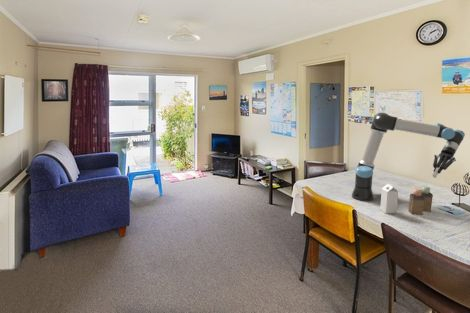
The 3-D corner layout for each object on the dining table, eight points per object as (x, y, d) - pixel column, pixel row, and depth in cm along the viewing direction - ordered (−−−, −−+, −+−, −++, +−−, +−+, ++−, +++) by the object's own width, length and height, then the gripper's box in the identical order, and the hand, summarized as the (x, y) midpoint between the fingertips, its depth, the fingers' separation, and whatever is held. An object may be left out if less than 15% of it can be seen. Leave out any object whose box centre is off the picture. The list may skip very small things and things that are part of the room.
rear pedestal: (416, 207, 199) (418, 191, 197) (427, 208, 197) (429, 191, 195) (419, 211, 193) (421, 194, 190) (430, 212, 191) (432, 194, 189)
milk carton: (390, 209, 197) (392, 182, 193) (396, 213, 190) (398, 185, 186) (380, 209, 197) (382, 182, 193) (385, 213, 190) (388, 185, 186)
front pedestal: (408, 210, 194) (410, 193, 192) (419, 211, 192) (421, 194, 190) (411, 214, 188) (413, 196, 186) (422, 215, 186) (424, 197, 184)
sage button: (420, 192, 196) (420, 186, 195) (428, 192, 194) (428, 186, 194) (422, 194, 191) (423, 188, 190) (430, 194, 190) (431, 188, 189)
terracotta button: (412, 194, 191) (412, 188, 190) (419, 195, 190) (420, 189, 189) (414, 196, 186) (414, 191, 186) (422, 197, 185) (423, 191, 184)
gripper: (462, 154, 196) (446, 181, 191) (440, 151, 207) (425, 177, 202) (459, 147, 193) (443, 175, 188) (437, 144, 204) (422, 171, 199)
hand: (434, 176), depth 195 cm, fingers closed
